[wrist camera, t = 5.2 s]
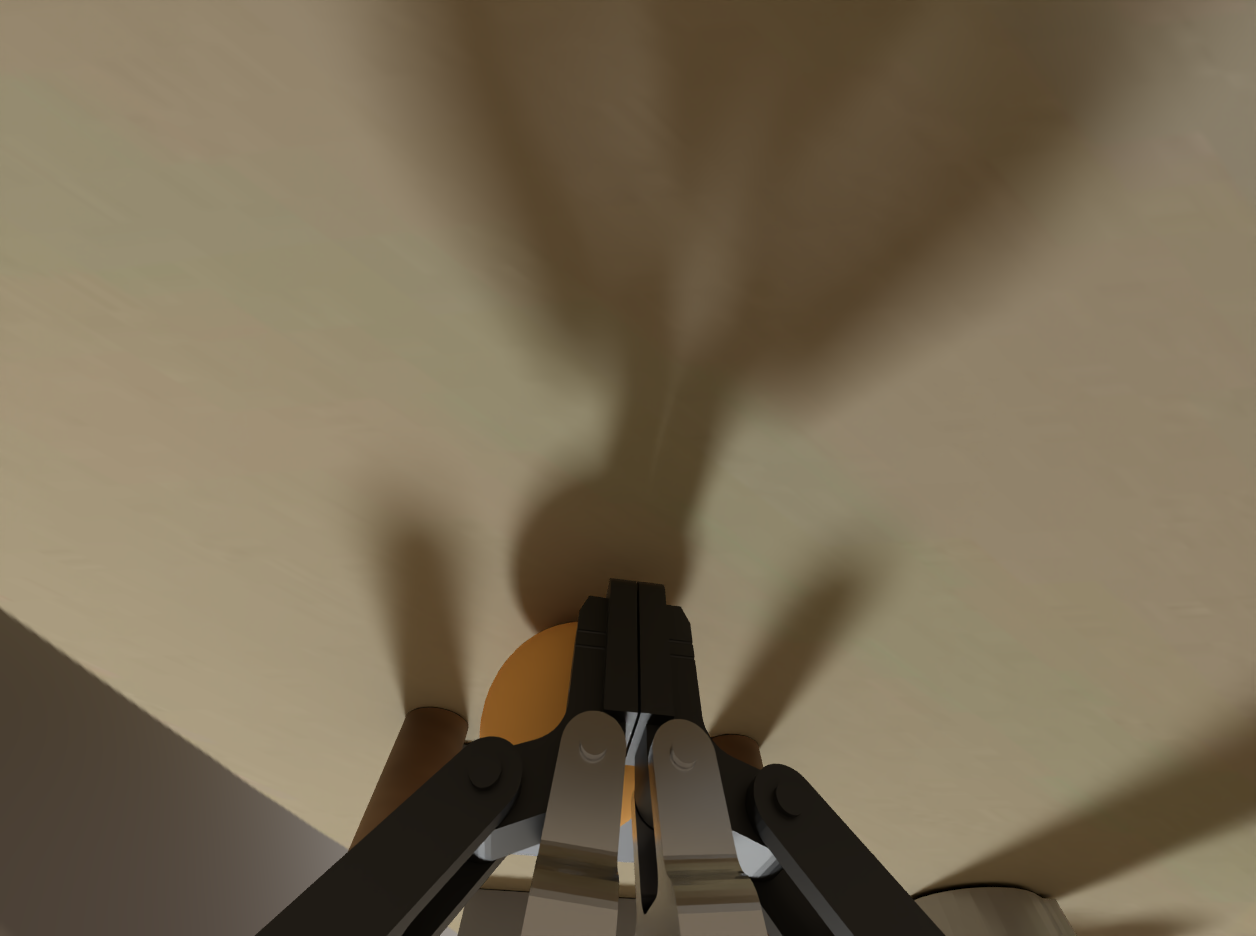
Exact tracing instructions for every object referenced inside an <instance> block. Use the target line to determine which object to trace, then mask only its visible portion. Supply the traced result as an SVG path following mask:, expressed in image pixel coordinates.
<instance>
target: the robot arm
mask: <svg viewBox="0 0 1256 936" xmlns="http://www.w3.org/2000/svg"><path fill="white" fill-rule="evenodd" d="M625 765H632V766H635V787H634V790H633V793H632V797H631V819H632V836H633V853H634V870H635V887H636V905H637V920H636V930H635V936H768V935H767V933H768V934H769V936H1077V935H1076V933H1075V931H1074V930H1073V928H1072V926H1071V925H1070V923H1069V921H1068V920H1067V918H1066V916H1065V915H1064V913H1063V911H1062V909H1061V908H1060V906H1059V904H1058V903H1057V901H1056V900H1055V899H1045V898H1041V897H1040V896H1038V895H1037V894H1035V893H1033V892H1030V891H1027V890H1022V889H1016V888H1005V887H980V888H966V889H959V890H951V891H946V892H941V893H936V894H932V895H928V896H925V897H921V898H919V899H916V900H913V899H912V898H911V896H910V895H909V894H908V893H907V892H906V891H905V890H904V889H903V887H902V886H901V885H900V884H899V883H898V882H897V881H896V880H895V879H894V877H893V876H892V875H891V874H890V873H889V872H888V871H887V870H886V868H885V867H884V866H883V865H882V864H881V863H880V862H879V861H878V860H877V858H876V857H875V856H874V855H873V854H872V853H871V852H870V851H869V849H868V848H867V847H866V846H865V845H864V844H863V843H862V842H861V841H860V839H859V838H858V837H857V836H856V835H855V834H854V833H853V832H852V831H851V829H850V828H849V827H848V826H847V825H846V824H845V823H844V822H843V820H842V819H841V818H840V817H839V816H838V815H837V814H836V813H835V812H834V810H833V809H832V808H831V807H830V806H829V805H828V804H827V803H826V801H825V800H824V799H823V798H822V797H821V796H820V795H819V794H818V793H817V791H816V790H815V789H814V788H813V787H812V786H811V785H810V784H809V782H808V781H807V780H806V779H805V778H804V777H803V776H802V775H801V774H799V773H798V772H797V771H795V770H794V769H792V768H790V767H788V766H785V765H782V764H770V765H767V766H765V767H763V768H762V769H761V770H760V769H758V768H755V767H753V766H751V765H749V764H747V763H745V762H743V761H740V760H738V759H736V758H734V757H732V756H730V755H729V754H727V753H725V752H724V751H723V750H721V749H720V748H719V747H718V746H717V745H716V744H715V742H714V741H713V740H712V739H711V737H710V736H709V734H708V732H707V730H706V728H705V725H704V722H703V718H702V711H701V703H700V696H699V688H698V680H697V672H696V665H695V660H694V649H693V645H692V634H691V626H690V622H689V621H688V619H687V617H686V615H685V613H684V612H683V610H682V608H681V607H679V606H671V605H666V597H665V587H664V585H662V584H654V583H646V582H637V583H636V581H628V580H620V579H612V578H610V581H609V585H608V590H607V595H606V598H603V597H594V596H589V597H588V599H587V600H586V602H585V603H584V605H583V606H582V608H581V609H580V612H579V618H578V624H577V631H576V637H575V643H574V651H573V659H572V667H571V674H570V682H569V690H568V698H567V706H566V713H565V715H564V717H563V719H562V721H561V722H560V723H559V725H558V726H557V727H556V728H555V729H554V730H552V731H551V732H550V733H548V734H547V735H545V736H543V737H540V738H538V739H535V740H531V741H527V742H524V743H520V744H516V745H513V744H512V743H511V742H509V741H508V740H506V739H504V738H501V737H495V736H488V737H483V738H480V739H477V740H475V741H473V742H471V743H469V744H468V745H467V746H466V747H464V748H463V749H462V750H461V751H460V752H459V753H458V754H456V755H455V756H454V757H453V758H452V759H451V760H450V761H449V762H448V763H446V764H445V765H444V766H443V767H442V768H441V769H440V770H439V771H438V772H436V773H435V774H434V775H433V776H432V777H431V778H430V779H429V780H427V781H426V782H425V783H424V784H423V785H422V786H421V787H420V788H419V789H417V790H416V791H415V792H414V793H413V794H412V795H411V796H410V797H409V798H407V799H406V800H405V801H404V802H403V803H402V804H401V805H400V806H399V807H397V808H396V809H395V810H394V811H393V812H392V813H391V814H390V815H389V816H387V817H386V818H385V819H384V820H383V821H382V822H381V823H380V824H379V825H377V826H376V827H375V828H374V829H373V830H372V831H371V832H370V833H369V834H367V835H366V836H365V837H364V838H363V839H362V840H361V841H360V842H359V843H357V844H356V845H355V846H354V847H353V848H352V849H351V850H350V851H348V853H346V854H345V855H344V856H343V857H342V858H341V859H340V860H339V861H337V862H336V863H335V864H334V865H333V866H332V867H331V868H330V869H328V870H327V871H326V872H325V873H324V874H323V875H322V876H321V877H320V878H318V879H317V880H316V881H315V882H314V883H313V884H312V885H311V886H310V887H308V888H307V889H306V890H305V891H304V892H303V893H302V894H301V895H300V896H298V897H297V898H296V899H295V900H294V901H293V902H292V903H291V904H290V905H289V906H287V907H286V908H285V909H284V910H283V911H282V912H281V913H280V914H278V915H277V916H276V917H275V918H274V919H273V920H272V921H271V922H270V923H269V924H267V925H266V926H265V927H264V928H263V929H262V930H261V931H259V932H258V933H257V934H256V935H255V936H440V934H441V933H442V932H443V931H444V930H445V929H446V928H447V926H448V925H449V924H450V923H451V922H452V920H453V919H454V918H455V917H456V916H457V914H458V913H459V912H460V911H461V910H462V908H463V907H464V906H465V905H466V904H467V903H468V901H469V900H470V899H471V898H472V897H473V895H474V894H475V893H476V892H477V891H478V889H479V888H480V887H481V886H482V885H483V884H484V882H485V881H486V880H487V879H488V878H489V876H490V875H491V874H492V873H493V872H494V870H495V869H496V868H497V867H498V866H499V864H500V863H501V862H502V861H503V860H504V859H505V857H506V856H507V855H510V854H513V853H515V852H518V851H521V850H524V849H527V848H529V847H532V846H535V845H538V844H540V846H539V851H538V856H537V860H536V864H535V869H534V874H533V878H532V883H531V888H530V893H529V898H528V903H527V908H526V913H525V918H524V923H523V928H522V932H521V936H616V929H617V915H618V901H619V875H618V871H617V860H618V846H619V834H620V822H621V809H622V797H623V785H624V772H625Z"/></svg>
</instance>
